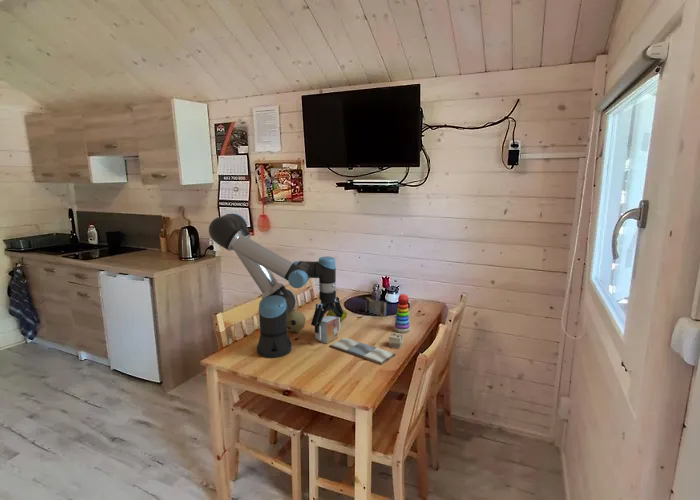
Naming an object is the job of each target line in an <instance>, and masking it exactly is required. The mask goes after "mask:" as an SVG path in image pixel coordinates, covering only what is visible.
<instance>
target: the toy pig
mask: <svg viewBox="0 0 700 500" xmlns="http://www.w3.org/2000/svg"><path fill="white" fill-rule="evenodd" d="M305 323H306V317H305V314H304V313H303V312H302V311H301V310H299V309H293V311H292V312H291V313H290V315H289V316H288V318H287V332H288V331H289V332H293V333H294V332H295V333H297V334H299V333H300V330H302V329H303V328H304V327H305Z"/></svg>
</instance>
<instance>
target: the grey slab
mask: <svg viewBox="0 0 700 500" xmlns="http://www.w3.org/2000/svg"><path fill="white" fill-rule="evenodd" d="M367 311H369V312H367ZM366 312H367V313H368V314H369V313H373V314H372V315H374V314H377V315H376V316H379V315H380V316H379V317H386V316H387V302H386V301H381V300H375V299H371V298H370V297H366V296H365V313H366Z"/></svg>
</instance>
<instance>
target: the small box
mask: <svg viewBox="0 0 700 500" xmlns="http://www.w3.org/2000/svg"><path fill="white" fill-rule="evenodd" d="M320 326H321V340H319V339H317V340H318V342H320V343H324V344H329V343H331V342H333V341H335V340H337V339H338V336H339V334H338V333H339V330H338V318H337V317H333V316H330V315H328V316H324V317H323V319H322V321H321V323H320Z"/></svg>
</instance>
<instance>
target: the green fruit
mask: <svg viewBox="0 0 700 500" xmlns="http://www.w3.org/2000/svg"><path fill="white" fill-rule="evenodd" d="M342 310H343V314H342V317H340V323H342V322H343V321H345V319H346V318H347V316H348V312H347V311H346V310H344V309H343V308H342ZM325 315H326V316H328V315H330V316H333V317H335V316H336V315H335V314H334V312H333V311H332V310H329V311H327V312H326V313H325ZM326 316H325V317H326Z"/></svg>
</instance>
